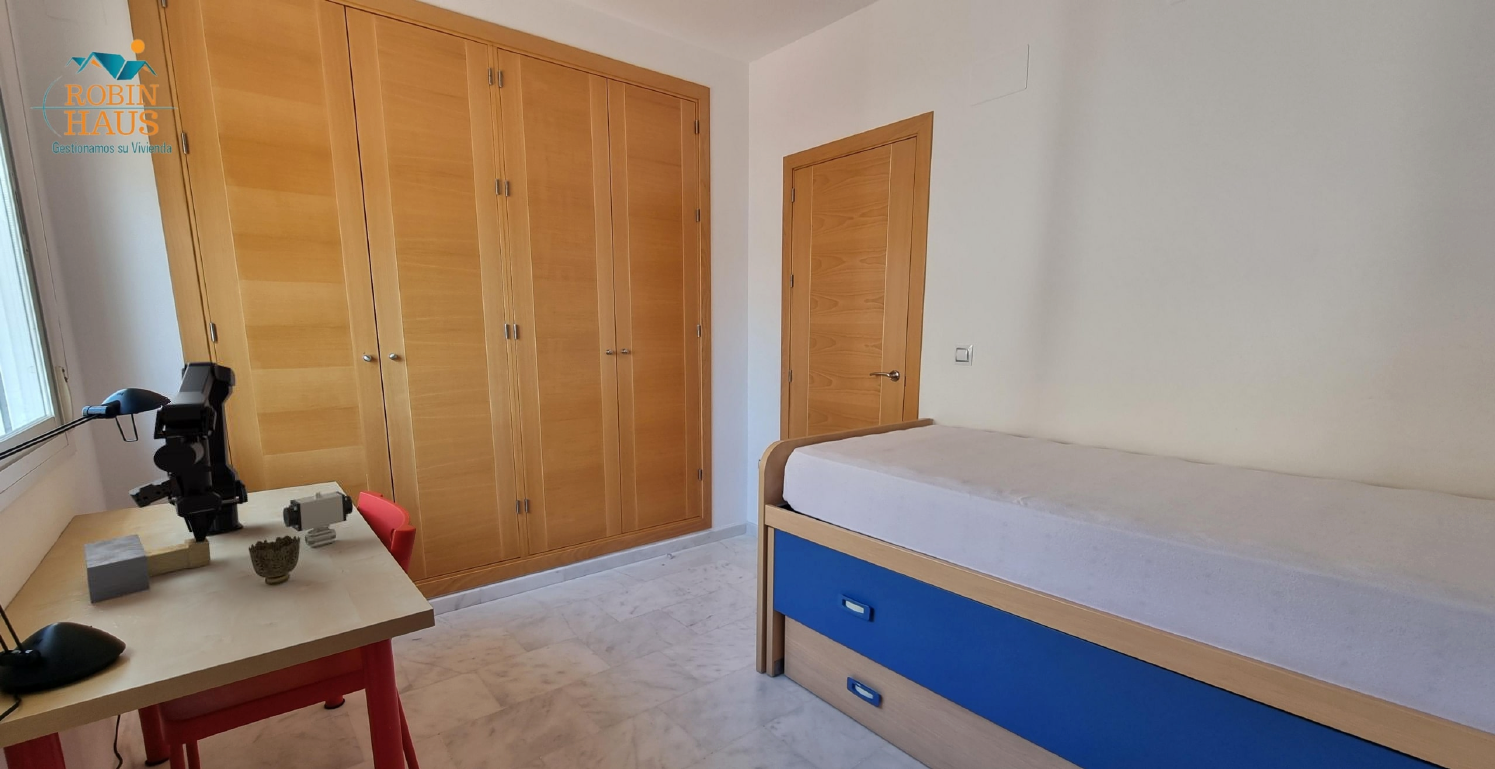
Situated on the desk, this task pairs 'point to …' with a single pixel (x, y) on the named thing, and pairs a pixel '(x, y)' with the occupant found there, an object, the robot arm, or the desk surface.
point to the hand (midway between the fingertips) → (196, 536)
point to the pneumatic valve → (318, 516)
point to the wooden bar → (178, 557)
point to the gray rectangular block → (116, 568)
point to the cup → (275, 559)
